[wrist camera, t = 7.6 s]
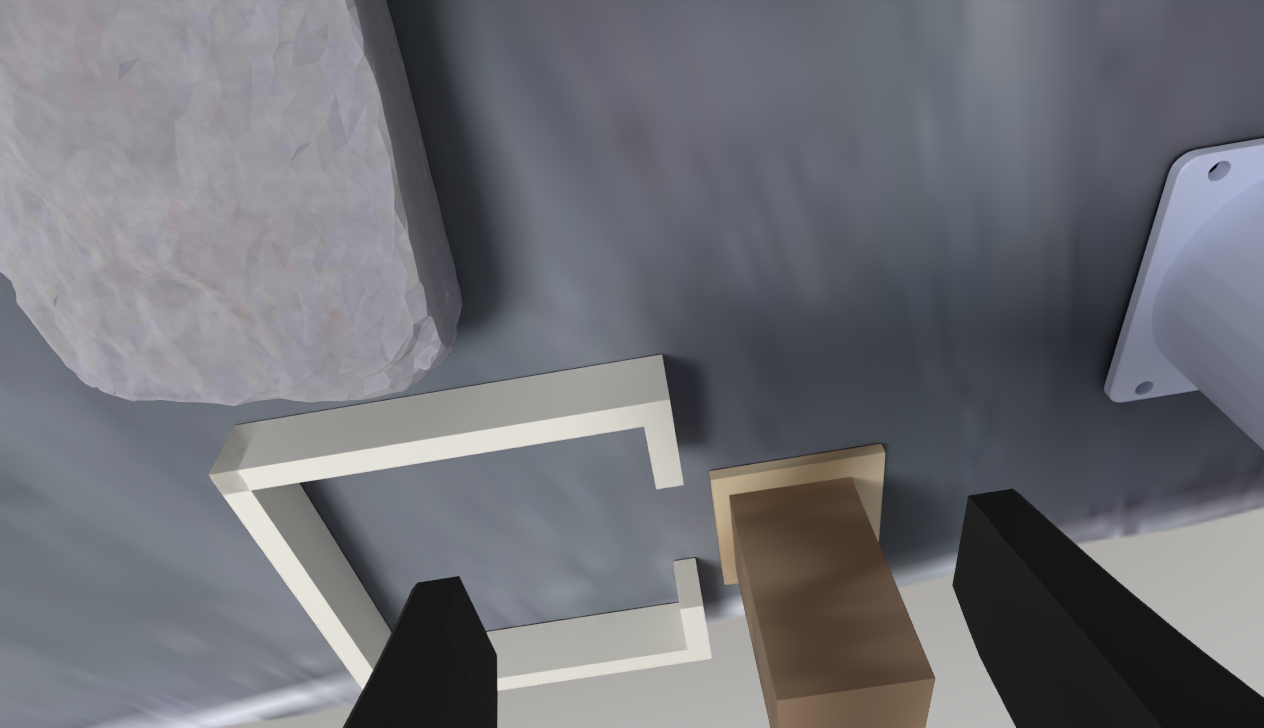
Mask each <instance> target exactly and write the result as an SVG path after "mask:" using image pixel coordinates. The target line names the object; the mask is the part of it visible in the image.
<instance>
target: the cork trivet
mask: <svg viewBox="0 0 1264 728" xmlns="http://www.w3.org/2000/svg"><path fill="white" fill-rule="evenodd" d="M884 465H885V450H884V448H883V446H882V444H876V445H870V446H863V447H857V448H851V449H845V450H838V451H832V452H826V453H820V454H813V455H807V456H801V457H795V458H788V459H782V460H776V461H770V462H763V463H757V464H751V465H745V466H738V467H732V468H726V469H720V470H713V471H709V474H710V482H711V490H712V497H713V505H714V513H715V520H716V528H717V536H718V544H719V551H720V559H721V567H722V574H723V580H724V585H729V584H735V583H739V582H738V578H737V573H736V566H735V555H734V544H733V533H732V522H731V511H730V500H729V495H732V494H739V493H745V492H752V491H759V490H765V489H772V488H779V487H785V486H792V485H799V484H805V483H812V482H819V481H825V480H832V479H839V478H845V477H851V478H852V480H853V483H854V485H855V488H856V490H857V492H858V495H859V497H860V500H861V502H862V504H863V507H864V509H865V512H866V514H867V516H868V519H869V521H870V523H871V526H872V528H873V531H874V533H875V535H876V538H877V540H878V543H879V532H880V519H881V505H882V492H883V479H884Z"/></svg>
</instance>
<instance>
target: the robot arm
mask: <svg viewBox="0 0 1264 728" xmlns="http://www.w3.org/2000/svg"><path fill="white" fill-rule="evenodd" d="M1218 162H1219V164H1218V166H1217V167H1216V169H1214V170H1213V171H1212V172H1211V173H1209V171H1210V169H1211V168H1212V167H1213V166H1214V165H1215V164H1216V163H1218ZM1196 390H1200V391H1201V392H1202V393H1203V394H1204V395H1205V396H1206V397H1207V398H1208V399H1209V400H1211V401H1212V402H1213V403H1214V404H1215V405H1216V406H1217V407H1218V408H1219V409H1220V410H1221V411H1222V412H1223V413H1224V414H1225V415H1226V416H1228V417H1229V418H1230V419H1231V420H1232V421H1233V422H1234V423H1235V424H1236V425H1237V426H1238V427H1239V428H1240V429H1241V430H1242V431H1244V432H1245V433H1246V434H1247V435H1248V436H1249V437H1250V438H1251V439H1252V440H1253V441H1254V442H1255V443H1256V444H1257V445H1258V446H1260V447H1261V448H1262V449H1263V450H1264V138H1262V139H1256V140H1250V141H1244V142H1238V143H1232V144H1227V145H1221V146H1215V147H1209V148H1203V149H1198V150H1194V151H1191V152H1188V153H1186V154H1184V155H1183V156H1181V157H1180V158H1179V159H1178V160H1177V161H1176V162H1175V163H1174V164H1173V165H1172V167H1171V169H1170V171H1169V174H1168V177H1167V181H1166V184H1165V187H1164V191H1163V194H1162V197H1161V201H1160V204H1159V207H1158V210H1157V214H1156V217H1155V220H1154V224H1153V227H1152V230H1151V234H1150V237H1149V240H1148V244H1147V247H1146V250H1145V253H1144V257H1143V260H1142V263H1141V267H1140V270H1139V273H1138V277H1137V280H1136V283H1135V287H1134V290H1133V293H1132V296H1131V300H1130V303H1129V306H1128V310H1127V313H1126V316H1125V320H1124V323H1123V326H1122V329H1121V333H1120V336H1119V339H1118V343H1117V346H1116V349H1115V353H1114V356H1113V359H1112V363H1111V366H1110V369H1109V372H1108V376H1107V379H1106V382H1105V386H1104V391H1105V393H1106V394H1107V395H1108V397H1109V398H1110V399H1111V400H1112V401H1115V402H1127V401H1134V400H1140V399H1146V398H1152V397H1159V396H1165V395H1171V394H1177V393H1183V392H1190V391H1196ZM953 588H954V591H955V593H956V596H957V599H958V601H959V604H960V607H961V609H962V612H963V615H964V618H965V620H966V623H967V625H968V628H969V631H970V633H971V635H972V638H973V641H974V643H975V646H976V648H977V651H978V653H979V656H980V658H981V660H982V662H983V664H984V666H985V668H986V670H987V672H988V674H989V676H990V677H991V680H992V682H993V684H994V686H995V687H996V689H997V691H998V693H999V695H1000V697H1001V699H1002V701H1003V703H1004V705H1005V707H1006V709H1007V711H1008V713H1009V714H1010V716H1011V718H1012V720H1013V722H1014V724H1015V726H1016V728H1264V697H1262V696H1261V695H1260V694H1258V693H1257V692H1256V691H1254V690H1253V689H1252V688H1250V687H1249V686H1247V685H1246V684H1245V683H1244V682H1242V681H1241V680H1240V679H1238V678H1237V677H1236V676H1235V675H1233V674H1232V673H1230V672H1229V671H1228V670H1227V669H1225V668H1224V667H1223V666H1221V665H1220V664H1219V663H1218V662H1216V661H1215V660H1214V659H1212V658H1211V657H1210V656H1208V655H1207V654H1206V653H1205V652H1203V651H1202V650H1201V649H1200V648H1198V647H1197V646H1196V645H1195V644H1193V643H1192V642H1191V641H1190V640H1188V639H1187V638H1186V637H1185V636H1183V635H1182V634H1181V633H1179V632H1178V631H1177V630H1176V629H1175V628H1173V627H1172V626H1171V625H1170V624H1169V623H1167V622H1166V621H1165V620H1164V619H1163V618H1161V617H1160V616H1159V615H1158V614H1157V613H1155V612H1154V611H1153V610H1152V609H1151V608H1149V607H1148V606H1147V605H1146V604H1145V603H1143V602H1142V601H1141V600H1140V599H1138V598H1137V597H1136V596H1135V595H1134V594H1132V593H1131V592H1130V591H1129V590H1128V589H1126V588H1125V587H1124V586H1123V585H1122V584H1120V583H1119V582H1118V581H1117V580H1116V579H1115V578H1114V577H1112V576H1111V575H1110V574H1109V573H1108V572H1107V571H1105V570H1104V569H1103V568H1102V567H1101V566H1100V565H1099V564H1098V563H1096V562H1095V561H1094V560H1093V559H1092V558H1091V557H1089V556H1088V555H1087V554H1086V553H1085V552H1084V551H1083V550H1082V549H1080V548H1079V547H1078V546H1077V545H1076V544H1075V543H1074V542H1073V541H1071V540H1070V539H1069V538H1068V537H1067V536H1066V535H1065V534H1064V533H1063V532H1061V531H1060V530H1059V529H1058V528H1057V527H1056V526H1055V525H1054V524H1053V523H1051V522H1050V521H1049V520H1048V519H1047V518H1046V517H1045V516H1044V515H1043V514H1041V513H1040V512H1039V511H1038V510H1037V509H1036V508H1035V507H1034V506H1033V505H1032V504H1030V503H1029V502H1028V501H1027V500H1026V499H1025V498H1024V497H1023V496H1022V495H1020V494H1019V493H1018V492H1017V491H1015V490H1014V489H1008V490H1002V491H995V492H989V493H983V494H976V495H970V496H968V500H967V506H966V512H965V517H964V523H963V529H962V534H961V540H960V546H959V551H958V557H957V563H956V568H955V574H954V580H953ZM497 693H498V692H497V654H496V652H495V649H494V647H493V645H492V643H491V641H490V639H489V637H488V635H487V633H486V631H485V629H484V627H483V625H482V623H481V621H480V618H479V616H478V614H477V612H476V610H475V608H474V606H473V604H472V602H471V600H470V598H469V596H468V594H467V592H466V590H465V587H464V585H463V583H462V581H461V579H460V577H459V576H457V577H451V578H444V579H438V580H432V581H425V582H419V583H417V584H416V585H415V586H414V587H413V589H412V590H411V593H410V595H409V597H408V599H407V601H406V603H405V605H404V608H403V610H402V612H401V614H400V616H399V618H398V620H397V622H396V624H395V626H394V629H393V631H392V633H391V635H390V637H389V639H388V641H387V643H386V645H385V647H384V649H383V651H382V653H381V655H380V657H379V659H378V661H377V663H376V665H375V667H374V669H373V671H372V673H371V675H370V677H369V679H368V681H367V683H366V685H365V687H364V689H363V691H362V693H361V694H360V696H359V698H358V700H357V702H356V704H355V706H354V708H353V710H352V711H351V713H350V715H349V717H348V719H347V721H346V723H345V724H344V726H343V728H497Z"/></svg>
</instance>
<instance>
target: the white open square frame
mask: <svg viewBox="0 0 1264 728" xmlns="http://www.w3.org/2000/svg"><path fill="white" fill-rule="evenodd" d="M638 427H644V428H645V433H646V438H647V444H648V449H649V454H650V459H651V464H652V469H653V474H654V479H655V485H656V489H661V488H668V487H674V486H680V485H684V484H683V478H682V472H681V466H680V459H679V453H678V447H677V441H676V435H675V429H674V422H673V416H672V410H671V404H670V398H669V392H668V386H667V380H666V375H665V369H664V363H663V357H662V355H656V356H650V357H643V358H637V359H631V360H625V361H619V362H613V363H607V364H601V365H595V366H589V367H583V368H577V369H571V370H565V371H559V372H553V373H547V374H541V375H535V376H529V377H523V378H517V379H511V380H505V381H499V382H493V383H487V384H481V385H475V386H469V387H463V388H457V389H451V390H445V391H439V392H433V393H427V394H421V395H415V396H409V397H403V398H397V399H391V400H385V401H379V402H373V403H367V404H361V405H355V406H349V407H343V408H337V409H331V410H325V411H319V412H313V413H307V414H301V415H295V416H289V417H283V418H277V419H270V420H264V421H258V422H252V423H246V424H240V425H234V427H233V429H232V431H231V433H230V435H229V437H228V439H227V441H226V443H225V444H224V446H223V448H222V450H221V452H220V454H219V456H218V458H217V460H216V462H215V463H214V465H213V467H212V469H211V471H210V473H209V477H210V478H211V479H212V481H213V482H214V484H215V485H216V486H217V488H218V489H219V491H220V492H221V493H222V495H223V496H224V498H225V499H226V500H227V502H228V503H229V504H230V506H231V507H232V509H233V510H234V511H235V513H236V514H237V516H238V517H239V518H240V520H241V521H242V523H243V524H244V525H245V527H246V528H247V530H248V531H249V532H250V534H251V535H252V536H253V538H254V539H255V541H256V542H257V543H258V545H259V546H260V548H261V549H262V550H263V552H264V553H265V555H266V556H267V557H268V559H269V560H270V562H271V563H272V564H273V566H274V567H275V568H276V570H277V571H278V573H279V574H280V575H281V577H282V578H283V580H284V581H285V582H286V584H287V585H288V587H289V588H290V589H291V591H292V592H293V594H294V595H295V596H296V598H297V599H298V601H299V602H300V603H301V605H302V606H303V607H304V609H305V610H306V612H307V613H308V614H309V616H310V617H311V619H312V620H313V621H314V623H315V624H316V626H317V627H318V628H319V630H320V631H321V633H322V634H323V635H324V637H325V638H326V639H327V641H328V642H329V644H330V645H331V646H332V648H333V649H334V651H335V652H336V653H337V655H338V656H339V658H340V659H341V660H342V662H343V663H344V665H345V666H346V667H347V669H348V670H349V671H350V673H351V674H352V676H353V677H354V678H355V680H356V681H357V683H358V684H359V685H360V687H361V688H362V690H363V689H364V687H365V685H366V683H367V681H368V679H369V677H370V675H371V673H372V671H373V669H374V667H375V665H376V663H377V661H378V659H379V657H380V655H381V653H382V651H383V649H384V647H385V645H386V643H387V641H388V639H389V637H390V635H391V633H392V632H391V631H390V629H389V627H388V626H387V624H386V623H385V621H384V619H383V618H382V616H381V614H380V613H379V611H378V610H377V608H376V606H375V605H374V603H373V602H372V600H371V598H370V597H369V595H368V593H367V592H366V590H365V589H364V587H363V585H362V584H361V582H360V580H359V579H358V577H357V576H356V574H355V572H354V571H353V569H352V568H351V566H350V564H349V563H348V561H347V559H346V558H345V556H344V555H343V553H342V551H341V550H340V548H339V546H338V545H337V543H336V542H335V540H334V538H333V537H332V535H331V534H330V532H329V530H328V529H327V527H326V525H325V524H324V522H323V521H322V519H321V517H320V516H319V514H318V512H317V511H316V509H315V508H314V506H313V504H312V503H311V501H310V500H309V498H308V496H307V495H306V493H305V491H304V490H303V488H302V487H301V485H300V482H306V481H312V480H319V479H325V478H331V477H337V476H343V475H349V474H355V473H362V472H368V471H374V470H380V469H386V468H392V467H398V466H405V465H411V464H417V463H423V462H429V461H435V460H441V459H448V458H454V457H460V456H466V455H472V454H478V453H484V452H491V451H497V450H503V449H509V448H515V447H521V446H527V445H534V444H540V443H546V442H552V441H558V440H564V439H570V438H577V437H583V436H589V435H595V434H601V433H607V432H613V431H620V430H626V429H632V428H638ZM673 564H674V571H675V578H676V585H677V592H678V599H679V602H678V603H672V604H665V605H659V606H652V607H646V608H639V609H633V610H626V611H620V612H613V613H607V614H600V615H594V616H587V617H581V618H574V619H568V620H561V621H554V622H548V623H541V624H535V625H528V626H522V627H515V628H509V629H502V630H496V631H489V632H486V633H487V635H488V637H489V639H490V641H491V643H492V645H493V647H494V649H495V652H496V654H497V691H499V690H505V689H512V688H518V687H525V686H532V685H539V684H545V683H552V682H558V681H565V680H572V679H579V678H585V677H591V676H598V675H605V674H612V673H618V672H624V671H632V670H638V669H644V668H652V667H658V666H665V665H671V664H678V663H685V662H691V661H698V660H705V659H711V658H712V657H711V651H710V644H709V638H708V632H707V626H706V620H705V614H704V607H703V601H702V596H701V590H700V584H699V578H698V572H697V566H696V560H695V558H691V559H685V560H679V561H673Z"/></svg>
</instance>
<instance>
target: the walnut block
mask: <svg viewBox="0 0 1264 728" xmlns="http://www.w3.org/2000/svg"><path fill="white" fill-rule="evenodd" d="M729 500H730V511H731V522H732V533H733V544H734V555H735V566H736V573H737V578H738V582H739V587H740V591H741V596H742V600H743V605H744V610H745V614H746V619H747V623H748V628H749V632H750V637H751V641H752V646H753V650H754V655H755V660H756V664H757V668H758V673H759V678H760V682H761V687H762V692H763V696H764V701H765V705H766V710H767V714H768V719H769V723H770V728H925V727H926V722H927V717H928V712H929V707H930V702H931V697H932V692H933V687H934V682H935V676H934V674H933V672H932V669H931V667H930V665H929V662H928V660H927V658H926V655H925V653H924V650H923V648H922V645H921V643H920V641H919V638H918V636H917V634H916V631H915V629H914V627H913V624H912V622H911V619H910V617H909V614H908V612H907V610H906V607H905V605H904V602H903V600H902V598H901V595H900V593H899V590H898V588H897V586H896V583H895V581H894V578H893V576H892V574H891V571H890V569H889V567H888V564H887V562H886V559H885V557H884V555H883V552H882V550H881V547H880V545H879V543H878V540H877V538H876V535H875V533H874V531H873V528H872V526H871V523H870V521H869V519H868V516H867V514H866V512H865V509H864V507H863V504H862V502H861V500H860V497H859V495H858V492H857V490H856V488H855V485H854V483H853V480H852V478H851V477H845V478H839V479H832V480H825V481H819V482H812V483H805V484H799V485H792V486H785V487H779V488H772V489H765V490H759V491H752V492H745V493H739V494H732V495H729Z"/></svg>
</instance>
